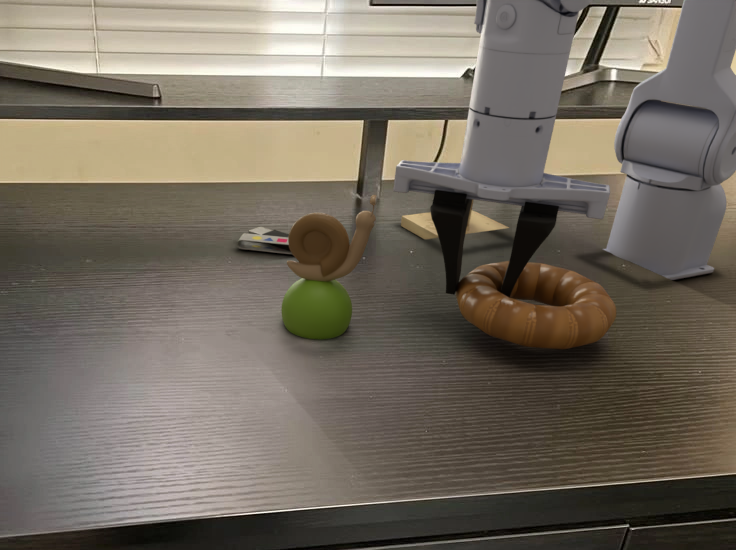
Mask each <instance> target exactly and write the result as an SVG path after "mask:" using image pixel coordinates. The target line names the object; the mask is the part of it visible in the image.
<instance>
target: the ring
mask: <svg viewBox="0 0 736 550" xmlns="http://www.w3.org/2000/svg"><path fill="white" fill-rule="evenodd" d="M508 264H509V260H505V261H499V262H493V263H487V264H486V263H485V264H482V265H479V266H477V267H475V268H474V269H472V270H471V271H469V272H468V273H467V274H466V275H464V276H463V277H462V278H460V279H459V283H458V285H457V288H456V292H455V297H456V301H457V305H458V309H459V311H460V315H461V316H462V317H463V319H465V320H466V321H467V322H468V323H470V324H472V325H473V326H474V327H476V328H477V329H479V330H480V331H482V332H483V333H485V334H486V335H488V336H490V337H492V338H496V339H499V340H502V341H506V342H509V343H512V344H516V345H518V346H521V347H526V348H536V349H537V348H538V349H550V350H569V349H572V348H577V347H582V346H586V345H591V344H594V343H597V342H598V341H600V340H601V339H602V338H604V336H605V335H606V334H607V332H608V331H609V329H610V328H611V327H612V326H613V324H614V322H615V321H616V318H617V307H616V304H615V302H614V301H613V299H612V298H611V297H610V295H609V294H608V292H607V291H606V290H605V288H604V287H603V286H602V285H601V284H600V283H598V282H596V281H595V280H592V279H590V278H588V277H586V276H584V275H582V274H579V273H578V272H576V271H574V270H570V269H567V268H562V267H559V266H554V265H550V264H546V263H541V262H533V261H531V262H529V261H528V263H527V264H526V266H525V267H524V269H523V271H522V273H521V274H520V276H519V278H518V280H517V282H516V284H515V286H514V288H513V290H512V293H511V295H510V298H509V297H507V296H506V295H504V294H502V293H501V288H502V284H503V280H504V277H505V273H506V270H507V267H508ZM527 301H532V302H537V303H540V304H534V303H530V302H527Z"/></svg>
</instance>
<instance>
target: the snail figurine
mask: <svg viewBox="0 0 736 550" xmlns="http://www.w3.org/2000/svg"><path fill="white" fill-rule="evenodd" d="M369 203H370V205H371V206H372V211H370V210H362V211H360V212H358V214H356V217H355V231H354V234H353V237H352V239H351V241H350V238H349V234H348V231H347V230H346V228H345V226H344V224H343V223H342V222H341V221H339V220H338V218H336V217H335V216H333V215H331V214H327V213H324V212H311V213H306V214H305V215H303V216H301V217H299V218H298V219H296V220H295V222H294V223H293V224H292V226H291V228H290V230H289V232H288V234H289V237H288V243H289V248H290V251H291V253H292V254H291V255H292V256H293V257H294V258H295V259H296V260H297V261H295V260H287V261H286V265H287V267H288V268H289V269H290V270H291V272H293V273H294V274H295V275H296V276H297V277H298V278H299V279H297V280H296V281H295V282H294V283H292V284H291V285H290V286H289V288H288V289H287V290H286V292H285V293H284V296H283V299H282V301H281V310H280V311H281V312H280V313H281V318H282V322H283V325H284V326H285V329H287V331H288V332H290V333H291V334H293V335H295V336H298V337H301V338H304V339H309V340H330V339H334V338H337V337H340V336H342V335H343V334H344V333H345V332H346V330H348V327H349V326H350V323H351V321H352V316H353V303H352V299H351V297H350V294H349V292H348V290H347V289H346V288H345V287H344V285H343V284H342V283H340V282H339V281H338V279H340V278H344V277H345V276H348V275H349V274H350V273H352V272H353V271H354V270H355V269H356V267H357V266H358V264H359V263H360V261H361V259H362V257H363V255H364V253H365V251H366V247H367V245H368V242H369V239H370V235H371V232H372V230H373V228H374V227H375V221H376V219H377V217H376V216H375V213H374V211H375V206H376V205H377V203H378V195H377V194H372V195H371V196H370V199H369Z"/></svg>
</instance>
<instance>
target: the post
mask: <svg viewBox="0 0 736 550" xmlns="http://www.w3.org/2000/svg"><path fill="white" fill-rule="evenodd" d="M474 201H475V200H473V199H472V203H471V208H470V213H469V218H468V223H467V228H466V233H465V235H468V234H475V233H481V232H489V231H496V230H505V229H510V227H508V226H507V225H505V224H503V223H500V222H498V221H496V220H494V219H492V218H490V217H488V216H486V215H483V214H482V213H480V212H477V211H475V210H473V205H474ZM400 227H402V228H404V229H405V230H407V231H409V232H411V233H412V234H414V235H415V236H417V237H419V238H421V239H423V240H431V239H432V240H433V239H437V238H438V239H439V237H438V234H437V231H436V228H435V225H434V223H433V221H432V217H431V211H430V212H421V213H413V214H404V215H401V220H400Z"/></svg>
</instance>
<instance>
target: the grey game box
mask: <svg viewBox="0 0 736 550" xmlns="http://www.w3.org/2000/svg"><path fill="white" fill-rule="evenodd" d="M288 237H289V233H286V232H282V231H280V230H277V229H270V228H267V227H263V226H258V227H255V228H252V229H249V230H248V233H247V232H244V233H242V235H240V238H239V239H238V240H237V242H236V246H237V248H238V249H240V250H247V251H248V250H249V251H256V252H267V253H274V254H275V253H277V254H283V255H284V254H285V255H293V254H292V253H291V251H290V248H289V243H288Z"/></svg>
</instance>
